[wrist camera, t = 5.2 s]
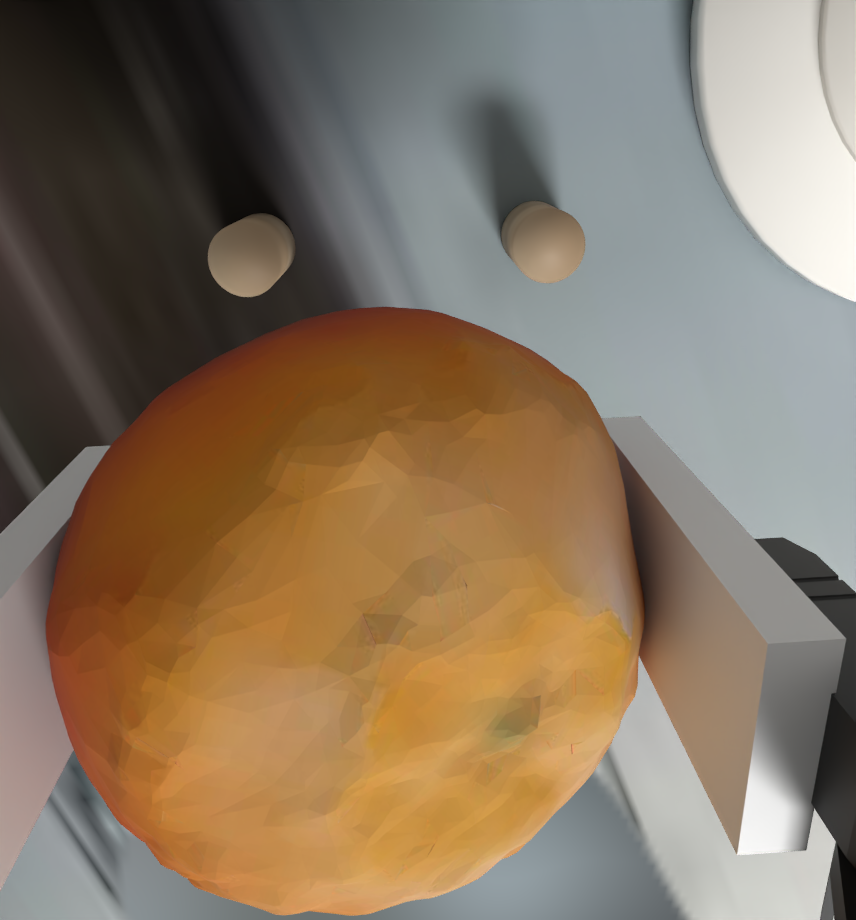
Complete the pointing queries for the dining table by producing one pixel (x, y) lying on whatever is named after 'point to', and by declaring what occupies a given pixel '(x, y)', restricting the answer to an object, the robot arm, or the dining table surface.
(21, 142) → the dining table surface
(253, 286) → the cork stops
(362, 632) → the fruit
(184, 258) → the dining table surface
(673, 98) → the dining table surface
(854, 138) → the saucer
